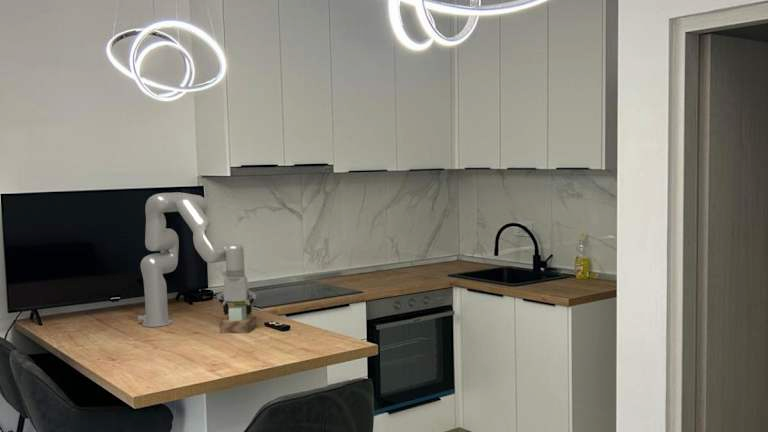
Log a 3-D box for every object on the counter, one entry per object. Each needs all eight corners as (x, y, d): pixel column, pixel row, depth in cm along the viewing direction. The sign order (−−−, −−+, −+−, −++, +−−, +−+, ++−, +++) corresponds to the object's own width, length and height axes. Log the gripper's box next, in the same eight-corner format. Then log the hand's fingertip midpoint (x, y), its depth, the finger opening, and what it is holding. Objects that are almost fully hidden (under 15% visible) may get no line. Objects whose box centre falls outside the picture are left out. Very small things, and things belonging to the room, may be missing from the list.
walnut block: (219, 334, 304) (219, 322, 304) (229, 328, 316) (229, 316, 316) (247, 334, 303) (247, 322, 302) (256, 328, 315) (256, 316, 314)
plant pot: (243, 323, 323) (242, 304, 323) (229, 321, 329) (228, 302, 328) (259, 319, 331) (258, 300, 330) (245, 317, 336) (244, 299, 336)
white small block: (229, 320, 307) (228, 309, 307) (233, 318, 312) (233, 306, 312) (241, 320, 306) (241, 308, 306) (246, 318, 312) (245, 306, 311)
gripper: (212, 275, 306) (214, 316, 307) (252, 274, 303) (254, 315, 304) (219, 273, 313) (221, 312, 314) (258, 272, 311) (260, 312, 312)
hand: (237, 314), depth 309 cm, fingers open, 9 cm apart
